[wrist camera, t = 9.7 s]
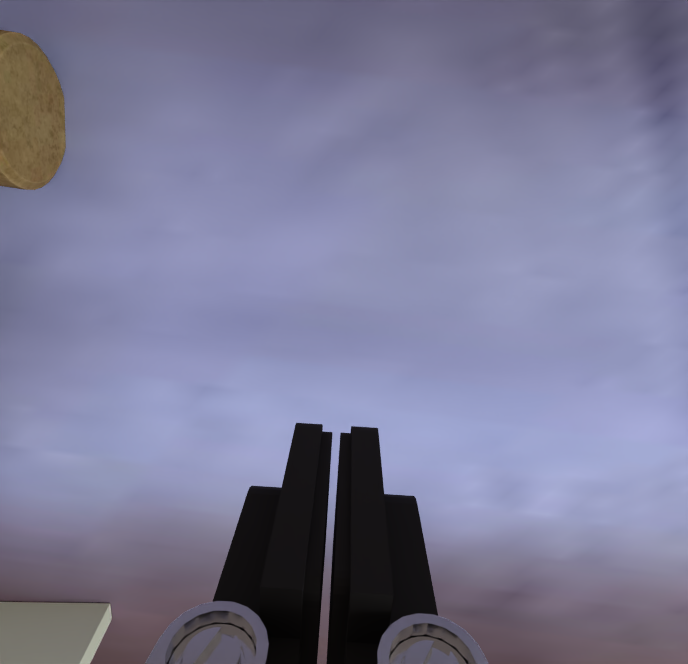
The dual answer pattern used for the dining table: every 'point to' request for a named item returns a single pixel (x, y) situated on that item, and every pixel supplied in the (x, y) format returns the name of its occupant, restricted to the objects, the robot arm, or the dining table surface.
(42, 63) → the gavel
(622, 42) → the dining table surface
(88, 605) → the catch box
